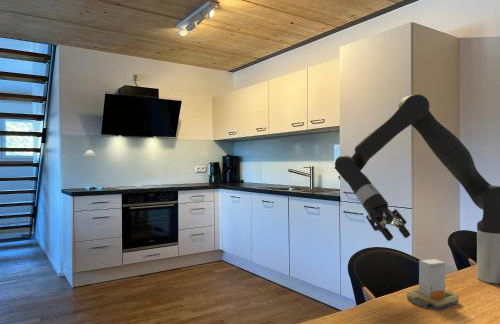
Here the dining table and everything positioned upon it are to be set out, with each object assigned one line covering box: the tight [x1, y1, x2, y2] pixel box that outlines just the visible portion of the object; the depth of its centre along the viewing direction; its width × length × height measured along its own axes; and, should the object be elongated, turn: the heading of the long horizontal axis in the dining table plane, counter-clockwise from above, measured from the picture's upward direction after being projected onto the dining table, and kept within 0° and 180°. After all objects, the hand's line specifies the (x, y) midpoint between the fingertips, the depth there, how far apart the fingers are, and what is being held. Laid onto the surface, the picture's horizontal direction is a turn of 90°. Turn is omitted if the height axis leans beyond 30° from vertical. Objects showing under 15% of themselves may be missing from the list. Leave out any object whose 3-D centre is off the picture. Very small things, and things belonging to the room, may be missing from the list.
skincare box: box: [418, 258, 446, 300], centre depth 109 cm, size 6×4×12 cm
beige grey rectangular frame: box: [406, 287, 460, 312], centre depth 109 cm, size 13×10×2 cm
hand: (399, 238), depth 118 cm, fingers open, 8 cm apart
